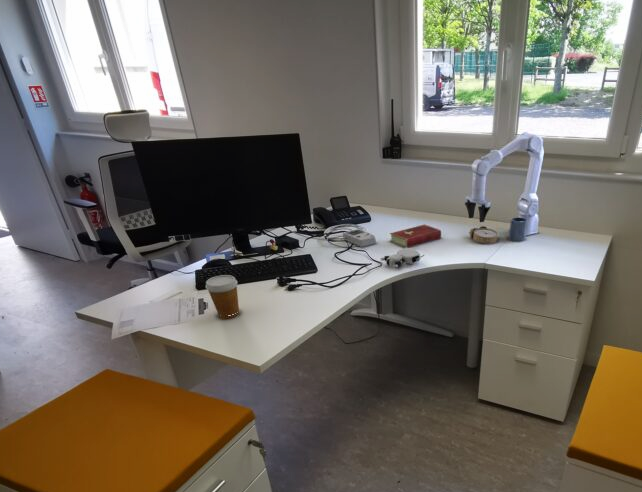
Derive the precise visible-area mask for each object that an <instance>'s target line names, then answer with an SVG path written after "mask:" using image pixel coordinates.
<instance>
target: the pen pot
mask: <svg viewBox="0 0 642 492" xmlns="http://www.w3.org/2000/svg"><path fill="white" fill-rule="evenodd" d="M509 223H510V224H509V232H508V239H509V240H510V241H512V242H522V241H524V240H525V237H526V236H525V231H526V223H527V219H525V218H520V217H519V216H517V217H515V216H514V217H511V218H510V222H509Z"/></svg>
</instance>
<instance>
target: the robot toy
mask: <svg viewBox="0 0 642 492" xmlns="http://www.w3.org/2000/svg"><path fill="white" fill-rule="evenodd" d="M423 257H425V254H422V255H421V253H420V251H418V250H417V249H415V248H411V247H408V248H407V247H406V248H405V247H403V248H401V249H398V250H397V251H396V253H394V254H391V255H385V256H383V257H380V261H383V262H385V263H386V264H387V266H389V267H393V268H399V267H401V266H402V264H403V263H405V264H411V265H415V264H416V263H418V262H419V261H421V258H423Z"/></svg>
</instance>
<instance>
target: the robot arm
mask: <svg viewBox="0 0 642 492" xmlns="http://www.w3.org/2000/svg"><path fill="white" fill-rule="evenodd" d="M543 144H544V139H543V138H542V137H541V136H540V135H539V134H535V133H529V132H522V133H521V134H519V135H517V136H516V137H515V138H514V139H513V140H512V141H510V142H508V143H507V144H506V145H505V146H503V147H502V148H500V149H491V150H490V151H489V153H488V154H486V155H483V156H481V157H480V158H479V159H478V158H477V159H475V160H474V161H473V162H472V164H471V165H470V169H471V172H472V185H471V186H472V187H471V195H466V196H465V202H464V206H465V207H466V210H467V215H468V219H473V218H474V217H475V210H476V206H477V205H479V206H478V207H477V209H478V212H479V215H478V216H479V223H484V222H485V220H486V217H487V215H488V213H489V210H490V209H491V202H490V201H488V200H486V198H485V196H486V181H487V175H488V173H489V171H490V170H491V169H493V168H494V167H496V166H497V165H499V164H500V163H502V161H503V159H504V158H505V157H507V156H509V155H510V154H512V153H514V152H516V151H517V150H525V151H526V152H527V154H528V155H529V156H530V157H529V163H528V169H527V175H526V179H525V185H524V191H523V193H521V195H520V196H519V199H518V201H517V204H516V207H517V210H518V217H520V218H525V219H527V223H526V231H525V237H526V236H530V235H534V234H538V233H539V231H538V227H539V221H540V220H539V219H540V217H539V214H537V213H538V212H539V208H540V207H539V197H538V195H537V190H538V187H539V186H538V185H539V182H540V181H539V180H540V175H541V171H542V165H543V159H544V155H545V151H544V146H543Z"/></svg>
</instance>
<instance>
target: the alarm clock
mask: <svg viewBox="0 0 642 492" xmlns="http://www.w3.org/2000/svg"><path fill="white" fill-rule="evenodd" d="M487 227H488V226H485V225H481V226H480V227H472V228H471V229H470V230H469V232H468V233H469V237H470V238H471V239H473V240H474V241H475V242H477V243H480V244H486V245H489V244H495V243H497V241H498V240H500V239H501V238H500V237H499V232H498V231H496V230H494V229H492V228H487Z"/></svg>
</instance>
